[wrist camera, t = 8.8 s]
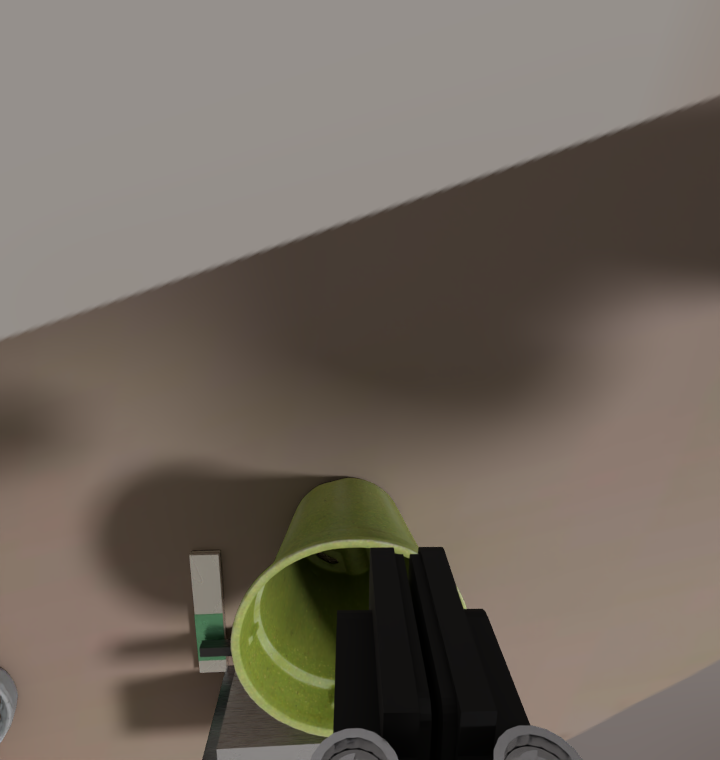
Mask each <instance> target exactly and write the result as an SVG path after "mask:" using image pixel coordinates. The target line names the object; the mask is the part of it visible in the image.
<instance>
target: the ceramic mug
mask: <svg viewBox="0 0 720 760" xmlns="http://www.w3.org/2000/svg"><path fill="white" fill-rule="evenodd" d="M0 697H1V703H0V714H1V719H0V742H1V741H2V740H3V738H4V736H5V735H6V733H7V731H8V729H9V728H10V726H11V723H12V720H13V717H14V713H15V709H16V705H17V698H18V694H17V689H16V686H15V684H14V681H13V680H12V678H11V677H10V675H9V674H8V673H7V672H6V671H5V670H4V669H2V668H0Z"/></svg>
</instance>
